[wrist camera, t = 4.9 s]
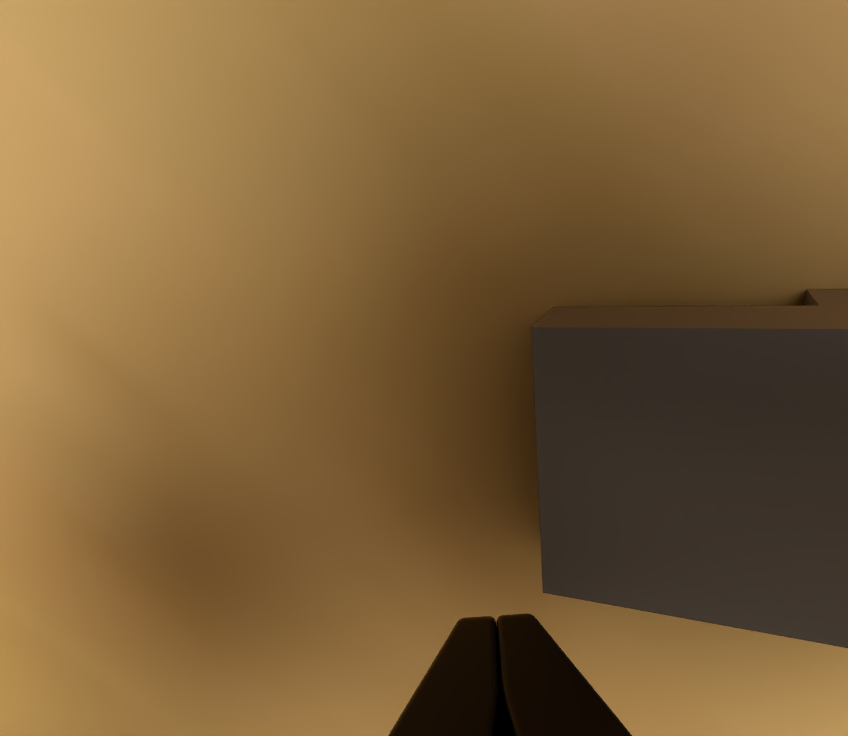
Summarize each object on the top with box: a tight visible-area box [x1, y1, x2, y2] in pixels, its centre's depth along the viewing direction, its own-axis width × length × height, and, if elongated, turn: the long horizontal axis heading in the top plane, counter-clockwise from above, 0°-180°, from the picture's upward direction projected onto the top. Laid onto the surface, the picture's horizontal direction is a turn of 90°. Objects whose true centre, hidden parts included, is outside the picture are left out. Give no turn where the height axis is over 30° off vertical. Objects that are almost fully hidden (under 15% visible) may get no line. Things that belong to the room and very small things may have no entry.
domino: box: [531, 305, 848, 648], centre depth 10 cm, size 5×2×8 cm
